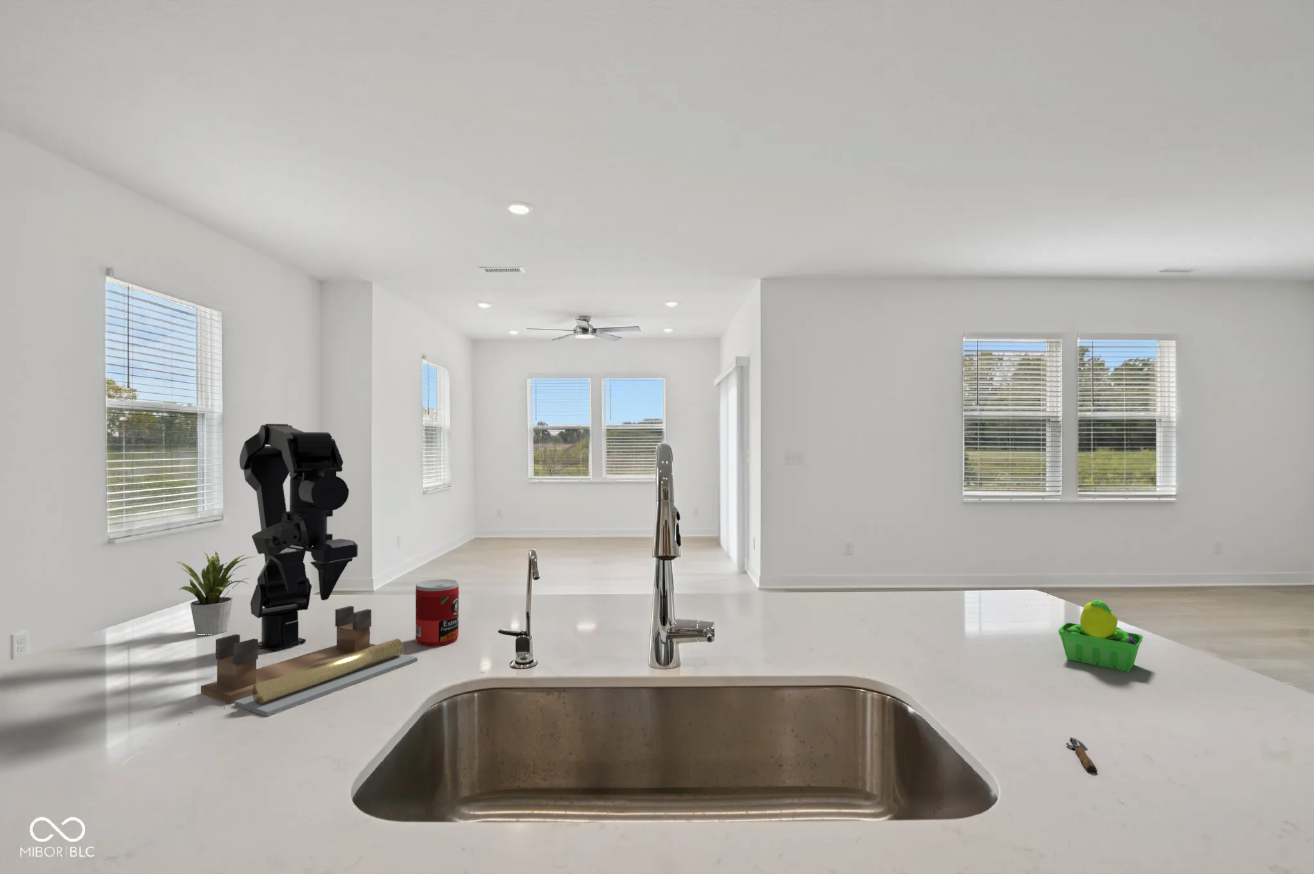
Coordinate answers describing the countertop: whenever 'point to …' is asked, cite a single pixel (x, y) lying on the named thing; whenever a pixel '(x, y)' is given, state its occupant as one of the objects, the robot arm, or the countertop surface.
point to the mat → (324, 687)
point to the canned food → (437, 612)
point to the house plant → (211, 596)
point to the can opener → (1083, 755)
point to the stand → (241, 661)
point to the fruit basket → (1100, 639)
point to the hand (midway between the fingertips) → (307, 596)
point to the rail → (325, 671)
